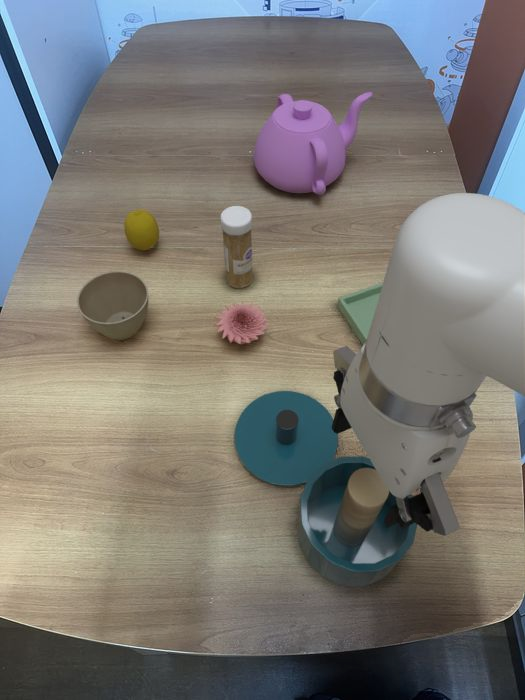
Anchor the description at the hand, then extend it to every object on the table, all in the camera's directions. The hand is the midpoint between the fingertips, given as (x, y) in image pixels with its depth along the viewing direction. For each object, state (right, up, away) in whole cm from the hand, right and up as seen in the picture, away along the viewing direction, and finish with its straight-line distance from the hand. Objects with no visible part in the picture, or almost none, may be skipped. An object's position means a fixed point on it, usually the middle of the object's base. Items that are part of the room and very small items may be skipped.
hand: (372, 469), depth 50 cm
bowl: (-31, +14, +33) cm, 48 cm away
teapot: (-1, +46, +55) cm, 71 cm away
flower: (-13, +13, +32) cm, 37 cm away
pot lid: (-7, 0, +22) cm, 23 cm away
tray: (+10, +14, +32) cm, 37 cm away
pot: (0, -11, +15) cm, 19 cm away
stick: (0, -10, +15) cm, 18 cm away
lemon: (-30, +28, +43) cm, 59 cm away
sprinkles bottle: (-14, +23, +39) cm, 47 cm away
